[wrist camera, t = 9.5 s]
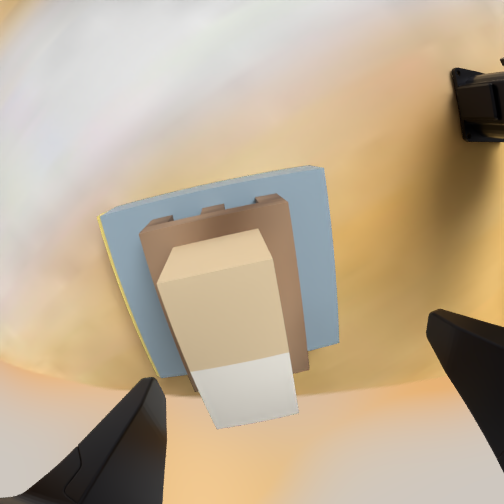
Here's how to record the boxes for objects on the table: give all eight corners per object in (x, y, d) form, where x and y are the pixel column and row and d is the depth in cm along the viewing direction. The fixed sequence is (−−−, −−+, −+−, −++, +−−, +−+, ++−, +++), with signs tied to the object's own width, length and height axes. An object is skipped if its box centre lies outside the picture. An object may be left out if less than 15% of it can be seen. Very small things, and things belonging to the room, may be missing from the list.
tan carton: (258, 228, 14) (272, 258, 10) (272, 304, 15) (289, 352, 11) (173, 247, 14) (156, 283, 10) (195, 320, 15) (190, 371, 11)
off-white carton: (272, 304, 15) (289, 352, 11) (283, 362, 16) (299, 413, 13) (195, 320, 15) (190, 372, 11) (215, 376, 16) (216, 429, 12)
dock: (308, 165, 19) (323, 168, 16) (326, 321, 23) (339, 342, 20) (112, 207, 18) (95, 217, 16) (162, 353, 22) (157, 378, 20)
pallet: (276, 193, 16) (288, 202, 13) (298, 341, 20) (309, 369, 17) (152, 219, 16) (138, 233, 13) (197, 361, 19) (195, 391, 17)
